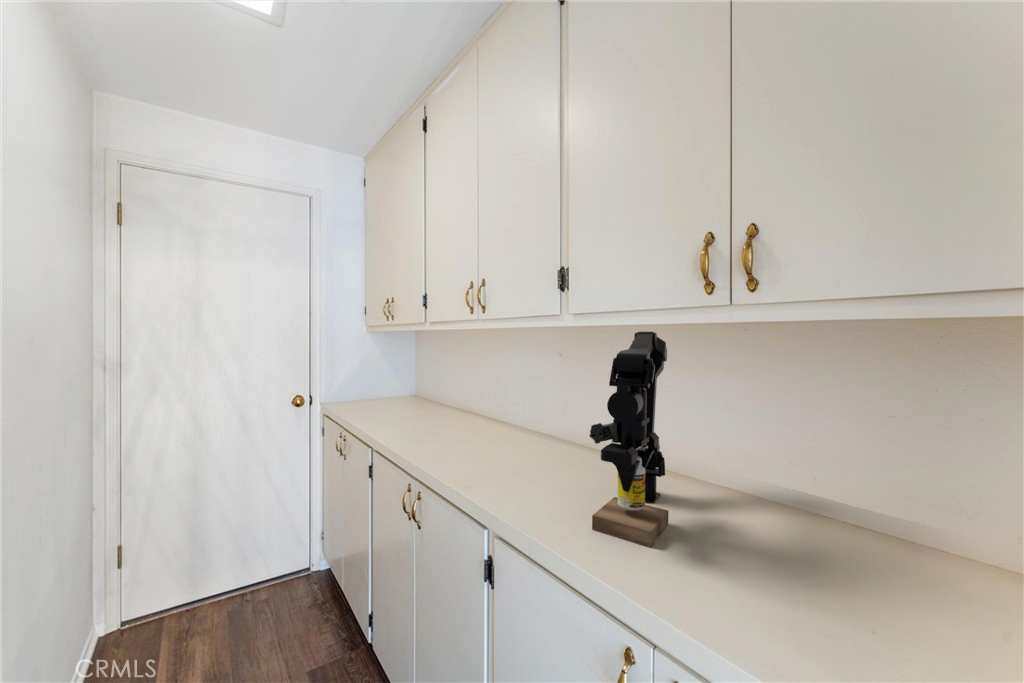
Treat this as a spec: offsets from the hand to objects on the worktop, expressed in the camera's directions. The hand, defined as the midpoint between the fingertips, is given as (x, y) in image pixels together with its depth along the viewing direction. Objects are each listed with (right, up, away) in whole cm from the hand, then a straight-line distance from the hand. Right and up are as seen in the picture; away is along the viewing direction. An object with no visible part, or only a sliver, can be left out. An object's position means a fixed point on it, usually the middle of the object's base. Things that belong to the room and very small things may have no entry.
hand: (631, 486), depth 85 cm
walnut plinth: (0, -8, 0) cm, 8 cm away
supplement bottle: (0, -4, 0) cm, 4 cm away
